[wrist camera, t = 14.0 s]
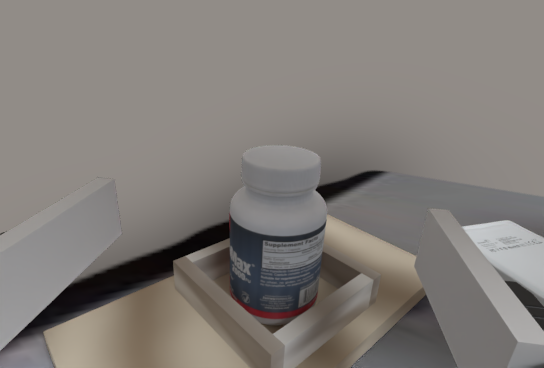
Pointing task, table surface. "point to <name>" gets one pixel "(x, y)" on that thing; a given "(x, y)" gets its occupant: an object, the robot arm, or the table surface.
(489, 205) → the table surface
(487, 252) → the external hard drive
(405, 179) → the table surface
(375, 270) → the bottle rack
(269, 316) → the pill bottle
